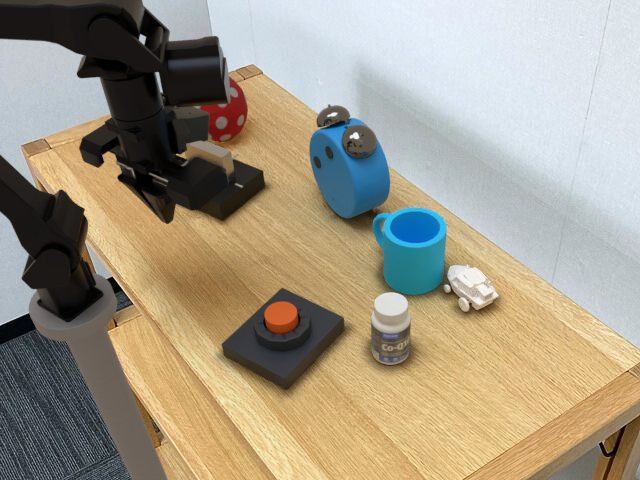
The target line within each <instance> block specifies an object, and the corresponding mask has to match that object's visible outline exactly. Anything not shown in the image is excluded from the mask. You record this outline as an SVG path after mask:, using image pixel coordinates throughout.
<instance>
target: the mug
mask: <svg viewBox="0 0 640 480" xmlns="http://www.w3.org/2000/svg"><path fill="white" fill-rule="evenodd" d="M383 220H384V222H383V227H382V226H381V225H382V221H383ZM371 226H372V232H373V235H374V238H375V241H376V242H377V244H378V245H379V247H380V249H381V250H382V251H383V278H384V281H385V283H386V284H387V286H389V287H390V288H391V289H392V290H394V291H396V292H397V293H399V294H405V295H412V296H416V295H417V296H418V295H423V294H428V293H430V292H432V291H434V290H435V289H437V288H438V287H439V286H440V285H441V284H442V282H443V279H444V272H445V258H446V246H447V245H446V244H447V233H448V232H447V231H448V229H447V228H448V225H447V222H446V220H445V219H444V217H443V216H441V215H440V214H439V213H438V212H437V211H433V210H432V209H429V208H425V207H421V206H420V207H419V206H418V207H417V206H416V207H414V206H411V207H405V208H401V209H398V210H396V211H394V212H392V213H390V212H383V213H378V214H377V215H375V217H374V218H373V221H372V225H371ZM382 229H383V231H382Z"/></svg>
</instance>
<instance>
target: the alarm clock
mask: <svg viewBox="0 0 640 480" xmlns="http://www.w3.org/2000/svg"><path fill="white" fill-rule="evenodd" d="M315 124H316V127H317V128H319V129H317V130H315V131H314V132H313V133H312V135H311V137H310V140H309V146H308V149H309V152H308V153H309V161H310V166H311V171H312V173H313V174H312V175H313V177H314V180H315V182H316V185H317V187H318V189H319V191H320V193H321V195H322V197H323V199H324V200H325V202H326V203H327V204H328V206H329V207H330V209H331V210H333V212H334V213H336V214H337V215H338V216H339V217H341V218H343V219H352V218H354V217H357V216H359V215H361V214H363V213H366V212H368V211H372V214H376V208H378V207H380V206H382V205H384V204H385V203H386V201H387V200H388V198H389V195H390V190H391V175H390V168H389V164H388V161H387V158H386V155H385V154H386V153H385V152H384V150H383V147H382V145H381V143H380V140H379V139H378V138H377V135H376V133H375V131H374V130H372V128H370V127H369V126H368V125H367V124H366V123H365V122H363V121H362V120H360V119H359V118H355V117H352V115H351V113H350V111H349V110H348V109H347V108H346V107H344V106H342V105H338V104H334V105H331V104H330V103H328V104H327V107H325V108H323V109H321V111H320V112H319V113H318V114H317V116H316V118H315Z"/></svg>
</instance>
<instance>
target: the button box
mask: <svg viewBox="0 0 640 480" xmlns="http://www.w3.org/2000/svg"><path fill="white" fill-rule="evenodd" d="M282 301H283V302H289V303H291V304H293V305H294V306H295V307H296V309H297V314H298V325H297V327H296V328H295V329H294V330H293V331H292V332H289V333H286V334H275V333H272V332H270V331H269V330H268V329H267V327H266V322H265V316H264V313H265V310H266V309H267V307H268V306H270V305H271V304H273V303H276V302H282ZM345 329H346V328H345V317H344V316H342V315H340V314H338V313H336V312H334V311H331V310H330V309H328V308H325V307H324V306H322V305H320V304H317V303H315V302H313V301H311V300H309V299H307V298H306V297H302V296H300V295H298V294H297V293H294V292H292V291H290V290H288V289H286V288H284V287H281V288H279V290H278V291H276V292H275V294H274V295H272V296H271V297H270V298H269V299H268V300H267V301H266V302H265V303H264V304H263V305H261V307H259V308H258V309H257V310H256V311H255V312H254V313H252V315H251V316H250V317H249V318H248V319H246V320H245V322H244V323H242V324H241V325H240V326H239V327H238V328H237V329H236V330H235V331H234V332H233V333H231V334H230V335H229V336H228V337H227V338H226V339H225V340H224V341H223V342H222V343H221V349H222V351H223V352H222V353H223V356H224V357H226V358H227V359H230V360H231V361H232V362H235V363H237V364H239V365H240V366H242V367H244V368H245V369H248V370H249V371H251V372H253V373H255V374H256V375H258V376H260V377H262V378H263V379H266V380H267V381H268V382H271V383H273V384H275V385H276V386H278V387H280V388H282V389H283V390H286V391H288V390H289V388H290V387H291V386H292V385H293V384H294V383H295V382H296V381H297V380H298V379H299V377H301V376H302V375H303V374H304V373H305V372H306V371H307V370H308V368H309V367H311V365H312V364H313V363H314V362H315V361H316V360H317V359H318V358H319V357H320V356H321V355H322V354H323V352H325V350H326V349H327V348H328V347H330V345H331V344H333V342H334V341H335V340H336V339H337V338H338V337H339V335H341V334H342V333H343V331H344V330H345Z"/></svg>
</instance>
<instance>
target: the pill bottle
mask: <svg viewBox="0 0 640 480" xmlns="http://www.w3.org/2000/svg"><path fill="white" fill-rule="evenodd" d="M411 324H412V316H411V313H410V311H409V301H408V299H407V298H406V297H405V296H404V295H402V293H399V292H394V291H393V292H392V291H391V292H390V291H389V292H384V293H382V294H380V295H378V296H377V297H376V298H375V300H374V302H373V311H372V313H371V316H370V339H371V340H370V345H371V347H370V349H371V354H372V356H373V358H374V359H375V360H376V361H377V362H379V363H381V364H383V365H389V366H392V365H397V364H401V363H403V362H404V361H406V359H407V358H408V357H409V354H410V350H411V349H410V346H411V326H412V325H411Z"/></svg>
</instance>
